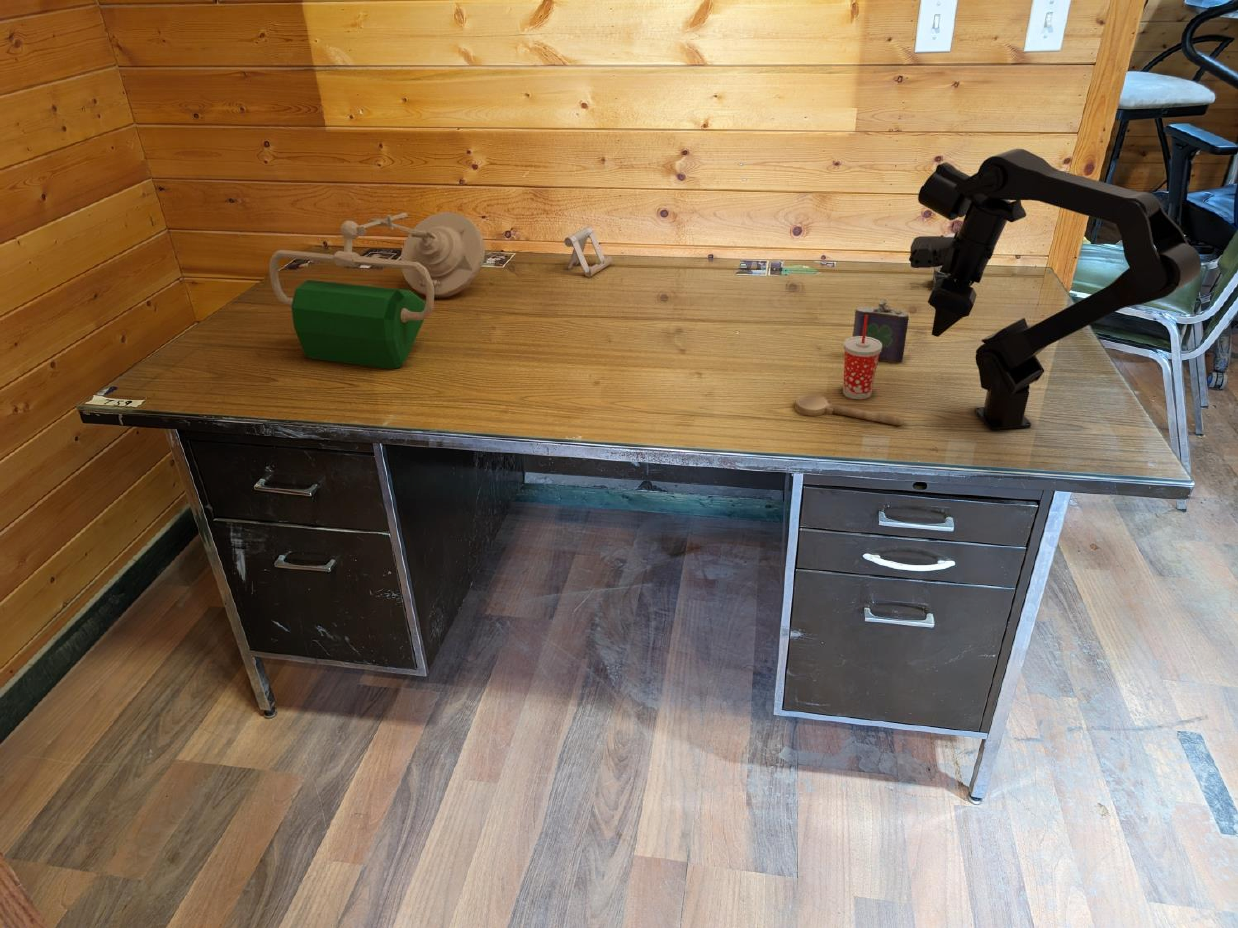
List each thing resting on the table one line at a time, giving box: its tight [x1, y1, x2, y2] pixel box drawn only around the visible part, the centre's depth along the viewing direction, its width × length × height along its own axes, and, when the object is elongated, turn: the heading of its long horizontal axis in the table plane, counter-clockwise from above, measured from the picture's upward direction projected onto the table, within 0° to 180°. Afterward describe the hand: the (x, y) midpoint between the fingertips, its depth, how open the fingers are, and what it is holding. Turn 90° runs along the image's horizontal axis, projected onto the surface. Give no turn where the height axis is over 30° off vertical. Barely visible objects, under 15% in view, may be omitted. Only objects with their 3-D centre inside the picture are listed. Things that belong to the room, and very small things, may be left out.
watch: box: [931, 232, 956, 288], centre depth 185 cm, size 6×8×11 cm
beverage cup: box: [842, 315, 882, 400], centre depth 147 cm, size 6×6×14 cm
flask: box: [851, 299, 910, 364], centre depth 158 cm, size 9×3×11 cm, turn 65°
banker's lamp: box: [269, 211, 486, 370], centre depth 178 cm, size 35×42×39 cm
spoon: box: [794, 393, 904, 426], centre depth 144 cm, size 17×5×1 cm, turn 64°
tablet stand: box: [563, 225, 613, 278], centre depth 201 cm, size 9×8×8 cm
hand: (939, 321), depth 144 cm, fingers open, 9 cm apart
